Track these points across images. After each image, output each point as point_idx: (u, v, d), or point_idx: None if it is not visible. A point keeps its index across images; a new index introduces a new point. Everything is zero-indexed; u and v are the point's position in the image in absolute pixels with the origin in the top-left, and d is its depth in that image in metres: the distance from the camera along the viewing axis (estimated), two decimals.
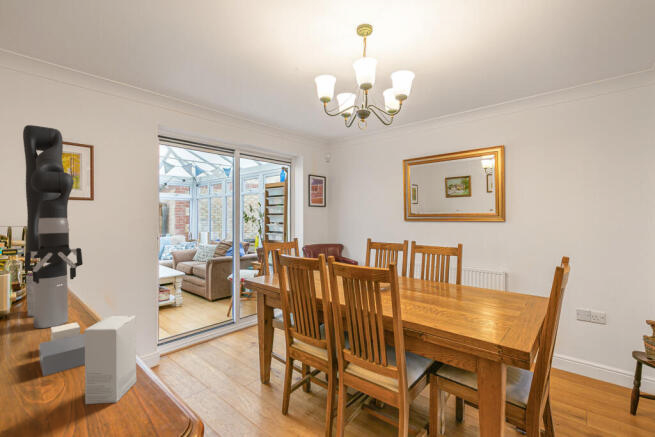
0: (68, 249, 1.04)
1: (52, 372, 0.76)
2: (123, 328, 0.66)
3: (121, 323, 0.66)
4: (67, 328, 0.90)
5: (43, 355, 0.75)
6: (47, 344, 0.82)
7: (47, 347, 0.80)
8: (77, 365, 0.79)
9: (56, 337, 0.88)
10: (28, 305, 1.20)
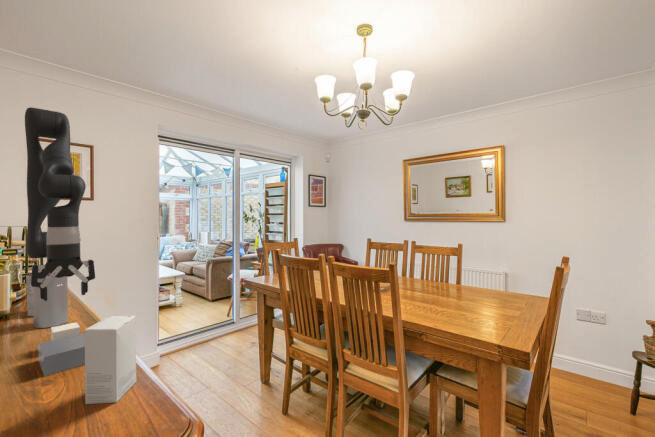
0: (79, 261, 0.93)
1: (53, 372, 0.76)
2: (123, 328, 0.66)
3: (121, 323, 0.66)
4: (67, 328, 0.90)
5: (44, 355, 0.75)
6: (47, 344, 0.82)
7: (47, 347, 0.80)
8: (78, 365, 0.79)
9: (56, 337, 0.88)
10: (28, 305, 1.20)
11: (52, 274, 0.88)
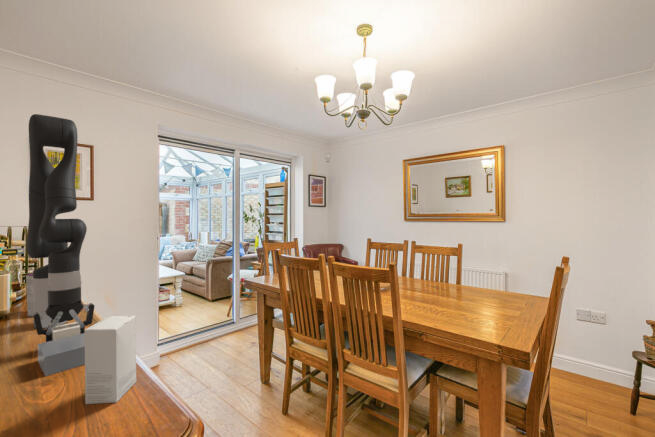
0: (81, 305, 0.93)
1: (54, 372, 0.76)
2: (123, 328, 0.66)
3: (121, 323, 0.66)
4: (68, 328, 0.90)
5: (45, 355, 0.75)
6: (47, 344, 0.82)
7: (47, 348, 0.80)
8: (79, 364, 0.79)
9: (56, 337, 0.88)
10: (28, 305, 1.20)
11: (55, 320, 0.88)
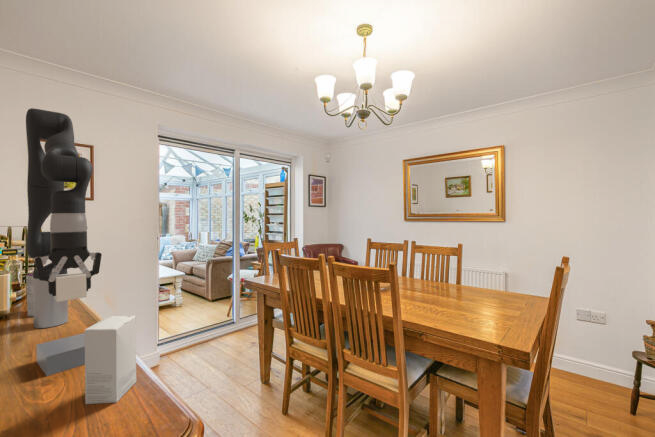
0: (87, 252, 0.85)
1: (55, 372, 0.76)
2: (123, 328, 0.66)
3: (121, 323, 0.66)
4: (72, 275, 0.82)
5: (46, 355, 0.75)
6: (46, 345, 0.81)
7: (47, 348, 0.80)
8: (80, 364, 0.80)
9: (60, 284, 0.79)
10: (28, 305, 1.20)
11: (58, 266, 0.80)
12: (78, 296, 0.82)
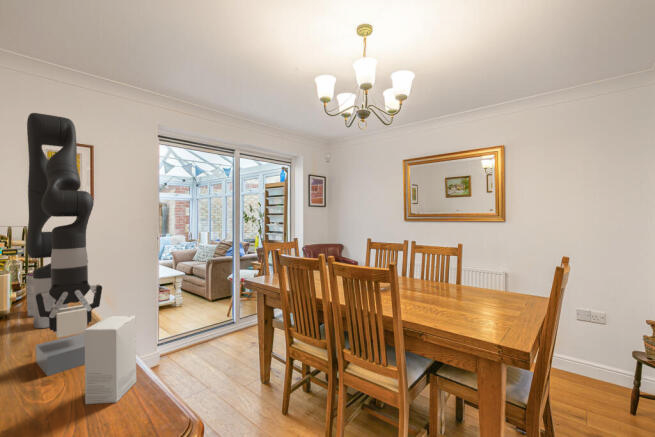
0: (87, 286, 0.85)
1: (56, 372, 0.76)
2: (123, 328, 0.66)
3: (121, 323, 0.66)
4: (73, 310, 0.82)
5: (47, 355, 0.75)
6: (46, 345, 0.81)
7: (47, 348, 0.79)
8: (80, 364, 0.80)
9: (61, 320, 0.79)
10: (28, 305, 1.20)
11: (59, 302, 0.80)
12: (79, 331, 0.82)
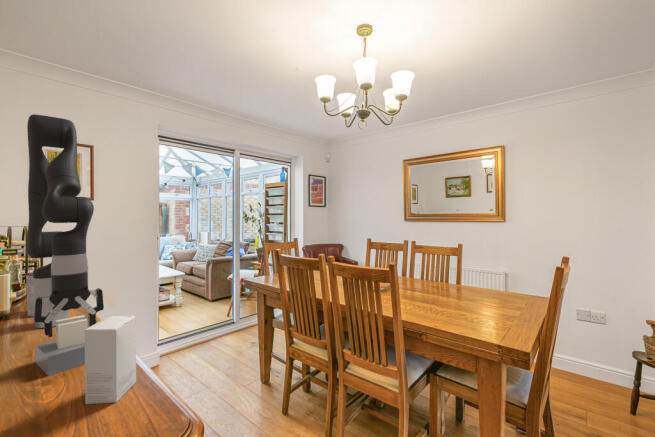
0: (87, 291, 0.85)
1: (57, 372, 0.76)
2: (123, 328, 0.66)
3: (121, 323, 0.66)
4: (74, 321, 0.82)
5: (47, 355, 0.75)
6: (46, 345, 0.81)
7: (47, 348, 0.79)
8: (81, 364, 0.80)
9: (62, 331, 0.79)
10: (28, 305, 1.20)
11: (57, 307, 0.80)
12: (79, 342, 0.82)
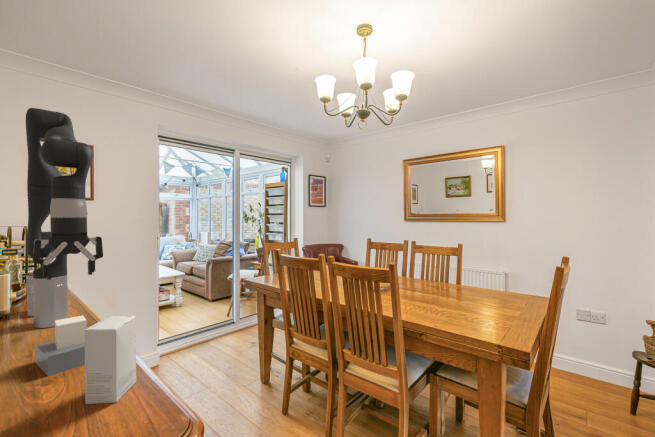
0: (86, 238, 0.84)
1: (57, 372, 0.76)
2: (123, 328, 0.66)
3: (121, 323, 0.66)
4: (73, 321, 0.82)
5: (47, 355, 0.75)
6: (45, 345, 0.81)
7: (47, 348, 0.79)
8: (81, 364, 0.80)
9: (61, 331, 0.79)
10: (28, 305, 1.20)
11: (56, 250, 0.80)
12: (78, 342, 0.82)
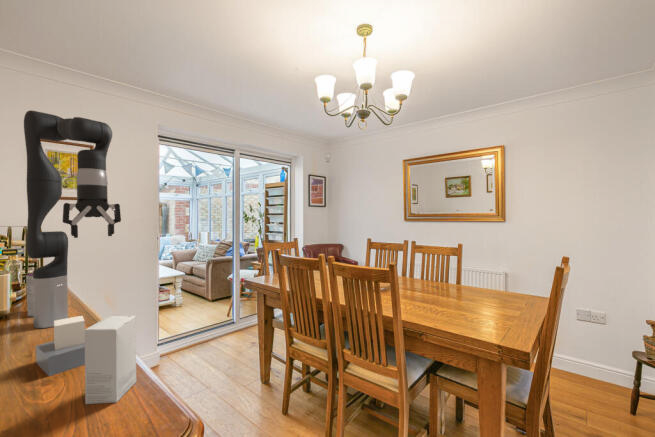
0: (107, 204, 0.98)
1: (58, 372, 0.76)
2: (123, 328, 0.66)
3: (121, 323, 0.66)
4: (71, 322, 0.82)
5: (48, 355, 0.75)
6: (46, 346, 0.81)
7: (48, 348, 0.79)
8: (82, 364, 0.80)
9: (59, 331, 0.79)
10: (28, 305, 1.20)
11: (82, 213, 0.93)
12: (76, 343, 0.82)
